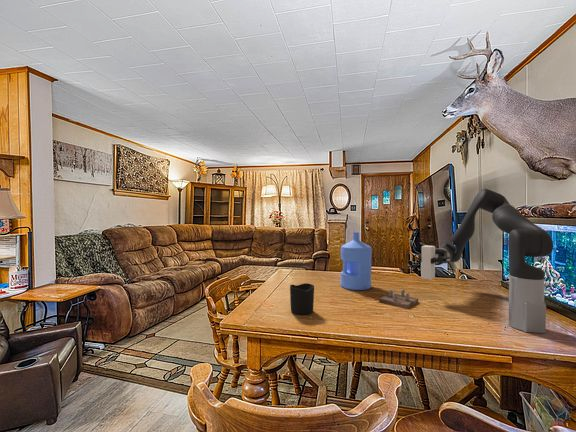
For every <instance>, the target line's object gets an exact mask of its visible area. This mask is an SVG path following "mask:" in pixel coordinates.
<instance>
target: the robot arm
mask: <svg viewBox="0 0 576 432" xmlns="http://www.w3.org/2000/svg"><path fill="white" fill-rule="evenodd" d="M480 209H481V210H483V211H486V212H488V213H491V214H492V215H491V218H492V222H493V223H494V224H495V225H496V227H497V228H498V229H499V230H500V231H501V232H503V233H505V234H508V238H507V239H508V240H507V249H508V269H509V272H508V273H509V275H508V276H509V277H508V278H509V282H508V325H509V327H512V328H514V329H516V330H520V331H522V332H525V333H535V334H536V333H537V334H546V331H547V330H546V327H547V326H546V325H547V324H546V323H547V304H546V303H545V280H546V279H545V276H546V272H545V270H544V269H542V268H539V267H536V266H533V265H531V264H529V263H528V262H526V259H525V257H526V258H527V257H530V258H543V257H544V258H545V257H547V256H550V254H552V253H553V251H554V246H555V245H554V240H553V238H552V237H551V235H550V234H549V232H547V231H546V230H545V229H543V227H540V226H538V225H537V224H535V223H534V222H532V221H531V220H530V219H528V217H526V216H524V215H523V214H522V212H521V211H519V210H518V209H517V208H515V207H514V206H513V205H511V204H510V202H509V201H508V199H507V198H506V196H504V195H503V194H501V193H499V192H496V191H493V190H490V189H488V188H482V189H480V190H479V191H478V193H477V194H476V195H475V196H474V198H473V199H472V202H471V204H470V206H469V208H468V210H467V211H466V214H465V216H463V219H462V221H461V223H460V225H459V226H458V227H457V229H455V232H453V235H452V236H451V238H450V240H451V242H452V243H453V244H454V245H455V246H454V245H452V244H450V243H447V242H444V243H442V244H441V245H440V247H435V258H431V264H434V263H435V266H441V265H443V264H449V263H453V264H454V263H457V262H459V261H460V260H461V258H462V255H463V251H464V249H465V247H466V245H467V243H468V242H470V241H469V240H471V239H472V237H473V235H474V233H475V229H476V227H475V225H476V224H475V222H476V221H475V220H476V215H477V212H478V211H479V210H480ZM421 256H422V253H418V254H417V261H418V262H419V263H421V262H422V258H421Z"/></svg>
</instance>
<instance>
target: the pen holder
mask: <svg viewBox="0 0 576 432" xmlns="http://www.w3.org/2000/svg"><path fill="white" fill-rule="evenodd" d="M289 293H290V294H289V296H290V298H289V299H290V301H289V302H290V312H291V313H292V314H293V315H297V316H308V315H311V314H312V313H313V312H314V302H315V300H314V298H315V285H314V284H312V283H309V282H307V283H301V284H298V285H297V284H296V285H295V284H290V285H289Z"/></svg>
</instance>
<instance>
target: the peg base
mask: <svg viewBox="0 0 576 432" xmlns="http://www.w3.org/2000/svg"><path fill="white" fill-rule="evenodd" d="M393 291H394V290H393V289H388V294H387V295H386V294H385V295H384V296H381V297H380V298H378V302H379V303H382V304H387V305H390V306H394V307H399V308H403V309H409V308H410V307H412V306H414V305H416V304H417V303H419V298H418V297H413V296H410V293H409V292H405V289H403V288H402V289H401V290H400V294H398V293H396V292H393Z"/></svg>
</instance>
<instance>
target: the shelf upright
mask: <svg viewBox="0 0 576 432" xmlns="http://www.w3.org/2000/svg"><path fill="white" fill-rule="evenodd" d="M435 249H436V246H435V245H422V246H421V254H422V256H421V258H422V262H420V263H421V271H420V273H421V277H420V279H423V280H424V279H425V280H429V281H431V280H434V279H435V278H436V265H435V263H434V264H431V258H435Z"/></svg>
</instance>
